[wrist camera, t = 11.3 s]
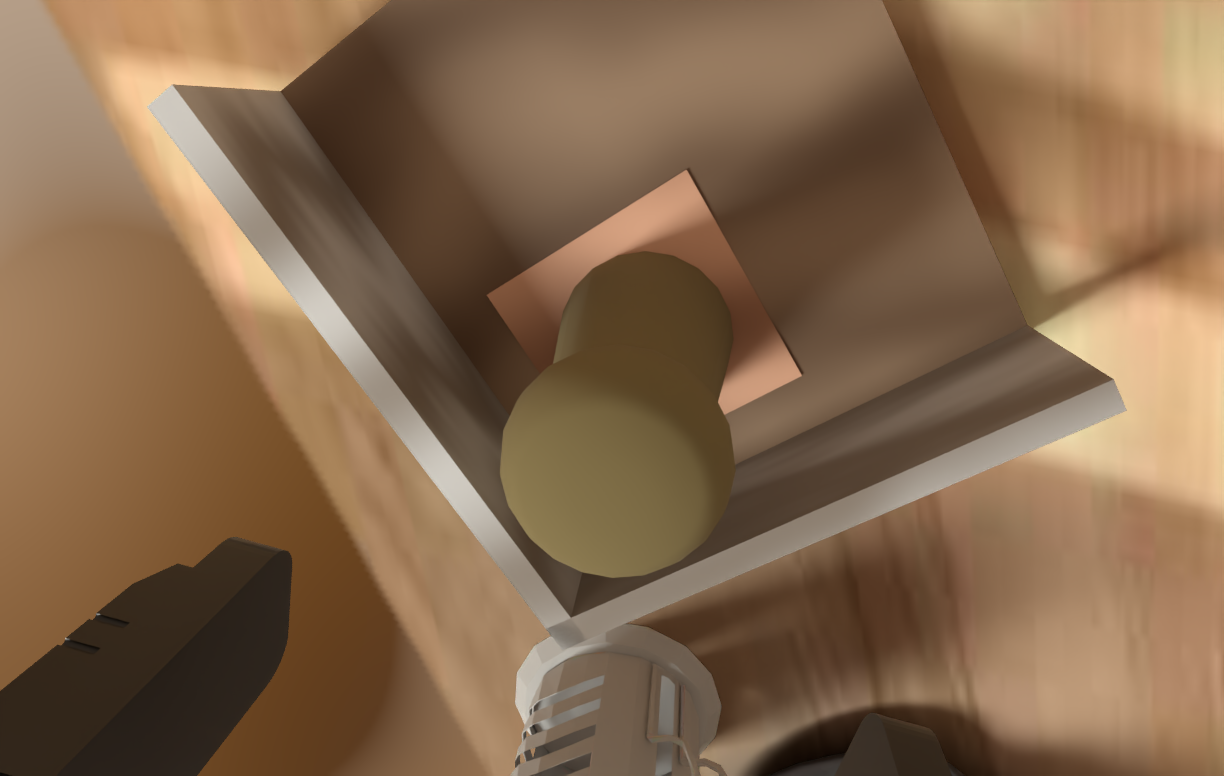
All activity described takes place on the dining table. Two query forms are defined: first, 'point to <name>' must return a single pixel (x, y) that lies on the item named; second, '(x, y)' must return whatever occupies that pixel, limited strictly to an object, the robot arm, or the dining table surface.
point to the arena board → (645, 221)
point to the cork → (626, 422)
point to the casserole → (828, 767)
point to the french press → (616, 707)
